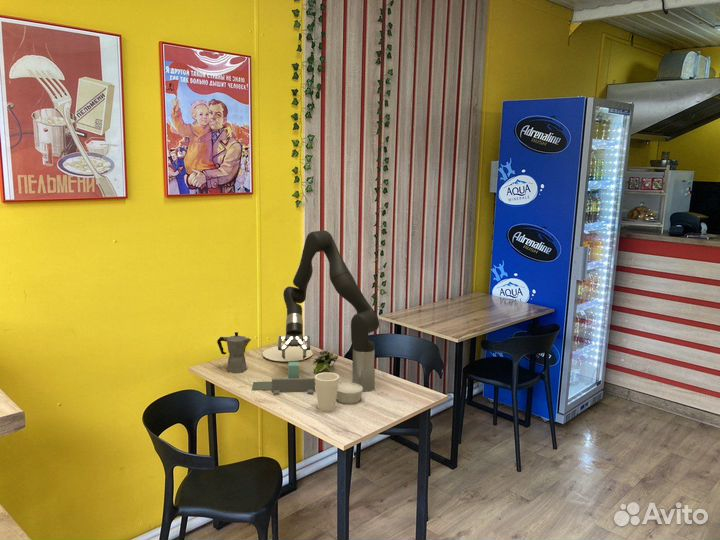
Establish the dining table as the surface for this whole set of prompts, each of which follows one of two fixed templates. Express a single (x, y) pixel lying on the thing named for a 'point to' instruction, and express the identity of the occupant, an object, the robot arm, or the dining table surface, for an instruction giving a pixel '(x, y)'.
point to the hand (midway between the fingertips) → (294, 358)
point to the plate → (286, 354)
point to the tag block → (293, 370)
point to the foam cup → (326, 390)
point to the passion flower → (324, 361)
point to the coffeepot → (235, 352)
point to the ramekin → (349, 393)
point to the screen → (293, 385)
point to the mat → (262, 386)
